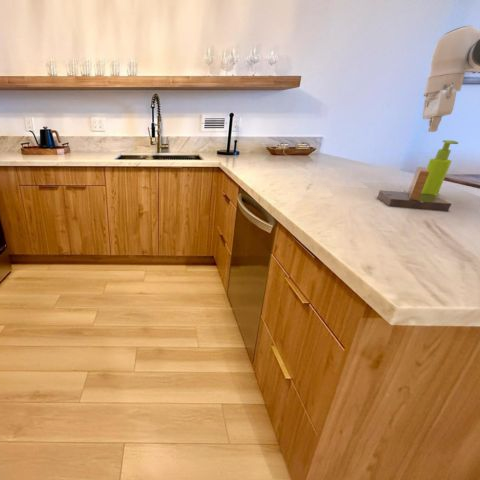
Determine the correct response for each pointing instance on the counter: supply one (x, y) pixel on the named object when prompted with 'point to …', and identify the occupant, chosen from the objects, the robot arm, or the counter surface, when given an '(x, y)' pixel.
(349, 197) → the counter surface
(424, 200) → the dark square slab
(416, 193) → the wooden block
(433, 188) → the soap dispenser
